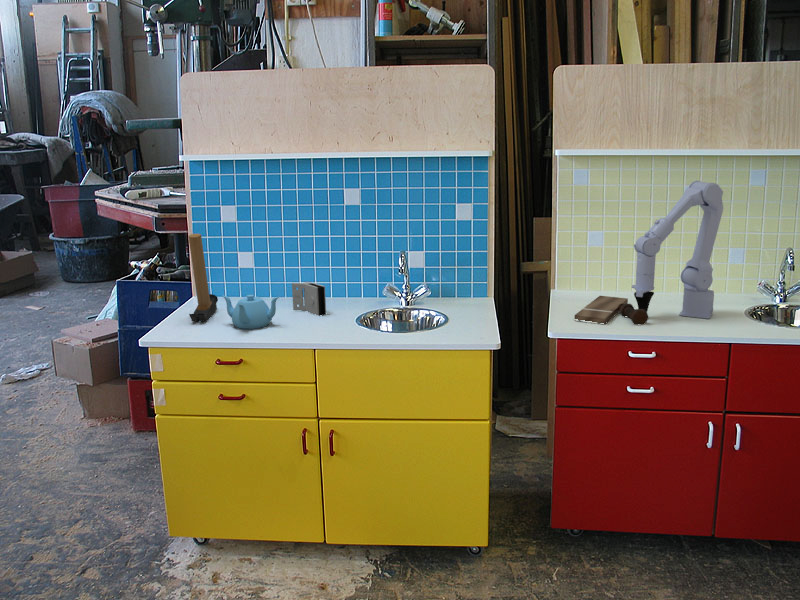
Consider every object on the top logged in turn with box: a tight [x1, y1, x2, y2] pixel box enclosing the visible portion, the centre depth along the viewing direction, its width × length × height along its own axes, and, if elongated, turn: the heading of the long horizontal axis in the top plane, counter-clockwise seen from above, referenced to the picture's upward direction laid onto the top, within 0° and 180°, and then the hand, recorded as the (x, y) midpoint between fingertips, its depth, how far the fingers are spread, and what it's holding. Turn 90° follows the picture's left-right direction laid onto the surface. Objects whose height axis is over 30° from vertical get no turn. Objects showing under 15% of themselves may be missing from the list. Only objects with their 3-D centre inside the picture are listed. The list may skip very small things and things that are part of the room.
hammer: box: [188, 233, 219, 322], centre depth 256 cm, size 20×5×30 cm, turn 0°
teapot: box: [221, 294, 281, 330], centre depth 248 cm, size 15×15×10 cm
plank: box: [574, 295, 629, 325], centre depth 257 cm, size 10×30×2 cm, turn 150°
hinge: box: [291, 281, 327, 316], centre depth 264 cm, size 14×5×10 cm, turn 51°
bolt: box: [618, 303, 649, 325], centre depth 248 cm, size 6×5×15 cm
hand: (642, 313), depth 248 cm, fingers closed
